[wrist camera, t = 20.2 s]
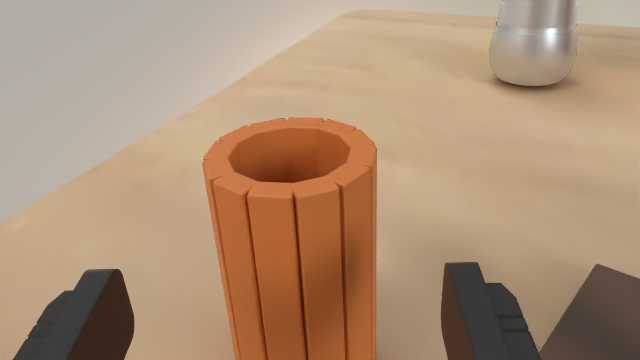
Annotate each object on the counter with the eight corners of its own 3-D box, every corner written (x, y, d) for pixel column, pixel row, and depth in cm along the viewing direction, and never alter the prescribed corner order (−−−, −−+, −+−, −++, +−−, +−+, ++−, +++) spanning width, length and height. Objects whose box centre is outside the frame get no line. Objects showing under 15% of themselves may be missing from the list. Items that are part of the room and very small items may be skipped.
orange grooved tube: (301, 295, 25) (285, 105, 20) (401, 350, 22) (408, 142, 17) (210, 369, 21) (167, 161, 17) (314, 446, 18) (295, 218, 14)
